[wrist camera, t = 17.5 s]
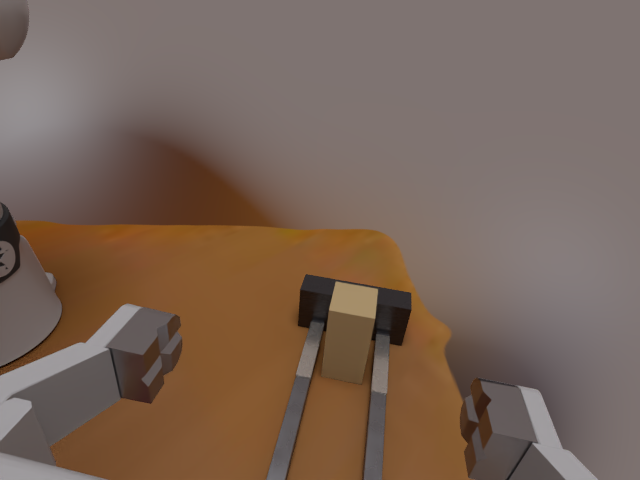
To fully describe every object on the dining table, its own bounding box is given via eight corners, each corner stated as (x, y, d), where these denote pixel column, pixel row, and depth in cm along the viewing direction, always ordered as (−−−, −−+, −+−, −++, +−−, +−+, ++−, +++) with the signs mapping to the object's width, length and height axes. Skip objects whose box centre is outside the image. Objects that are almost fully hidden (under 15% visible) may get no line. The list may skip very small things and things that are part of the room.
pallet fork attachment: (240, 502, 32) (237, 464, 29) (303, 309, 52) (305, 274, 48) (398, 541, 31) (413, 507, 27) (401, 328, 50) (411, 292, 47)
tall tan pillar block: (321, 376, 43) (328, 310, 38) (327, 345, 47) (335, 281, 41) (361, 384, 43) (375, 318, 37) (365, 353, 46) (378, 288, 41)
